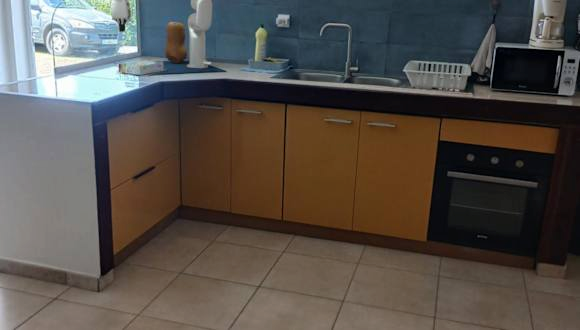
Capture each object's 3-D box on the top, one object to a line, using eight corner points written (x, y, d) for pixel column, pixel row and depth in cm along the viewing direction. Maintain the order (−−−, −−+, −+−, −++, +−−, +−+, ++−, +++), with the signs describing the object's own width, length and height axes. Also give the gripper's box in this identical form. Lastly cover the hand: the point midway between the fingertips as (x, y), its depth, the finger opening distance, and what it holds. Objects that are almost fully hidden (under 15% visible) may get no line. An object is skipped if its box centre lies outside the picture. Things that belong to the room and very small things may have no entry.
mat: (167, 70, 346) (167, 69, 346) (148, 76, 324) (148, 75, 323) (145, 68, 349) (145, 67, 349) (124, 74, 327) (124, 73, 327)
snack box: (118, 73, 329) (140, 75, 323) (117, 62, 327) (140, 65, 321) (142, 68, 347) (164, 70, 341) (142, 58, 345) (164, 60, 339)
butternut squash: (190, 62, 380) (189, 21, 372) (183, 65, 367) (183, 23, 360) (168, 60, 382) (168, 20, 374) (161, 63, 369) (160, 22, 361)
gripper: (135, -3, 329) (137, 31, 335) (110, -4, 333) (113, 30, 339) (128, -3, 322) (131, 32, 328) (103, -3, 326) (106, 31, 332)
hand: (122, 31), depth 334 cm, fingers closed
